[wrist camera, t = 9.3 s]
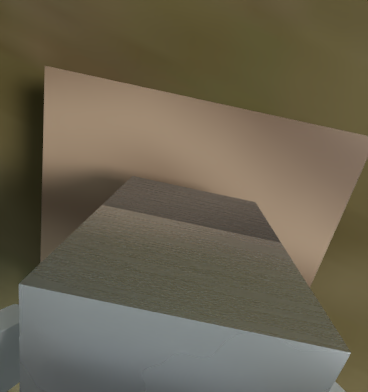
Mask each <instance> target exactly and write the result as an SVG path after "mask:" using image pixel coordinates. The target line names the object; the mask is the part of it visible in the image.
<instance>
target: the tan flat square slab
mask: <svg viewBox="0 0 368 392" xmlns="http://www.w3.org/2000/svg"><path fill="white" fill-rule="evenodd" d="M367 158H368V136H365V135H361V134H356V133H351V132H347V131H342V130H338V129H333V128H328V127H324V126H319V125H315V124H310V123H305V122H301V121H296V120H292V119H287V118H282V117H278V116H273V115H269V114H264V113H260V112H255V111H250V110H246V109H241V108H237V107H232V106H227V105H223V104H218V103H214V102H209V101H204V100H200V99H195V98H191V97H186V96H181V95H177V94H172V93H168V92H163V91H159V90H154V89H149V88H145V87H140V86H136V85H131V84H126V83H122V82H117V81H113V80H108V79H103V78H99V77H94V76H90V75H85V74H80V73H76V72H71V71H67V70H62V69H58V68H53V67H48V66H45V83H44V126H43V169H42V212H41V255H40V263H41V262H42V261H43V260H44V259H46V258H47V257H48V256H49V255H50V254H51V253H52V252H53V251H54V250H55V249H56V248H57V247H58V246H59V245H60V244H61V243H62V242H63V241H64V240H66V239H67V238H68V237H69V236H70V235H71V234H72V233H73V232H74V231H75V230H76V229H77V228H78V227H79V226H80V225H81V224H82V223H83V222H84V221H86V220H87V219H88V218H89V217H90V216H91V215H92V214H93V213H94V212H95V211H96V210H97V209H98V208H99V207H100V206H101V205H102V204H103V203H105V202H106V201H107V200H108V199H109V198H110V197H111V196H112V195H113V194H114V193H115V192H116V191H117V190H118V189H119V188H120V187H121V186H122V185H123V184H125V183H126V182H127V181H128V180H129V179H130V178H131V177H132V176H136V177H140V178H145V179H150V180H154V181H159V182H164V183H168V184H173V185H178V186H183V187H187V188H192V189H197V190H201V191H206V192H211V193H215V194H220V195H225V196H229V197H234V198H239V199H243V200H248V201H253V202H256V204H257V205H258V207H259V209H260V210H261V212H262V213H263V215H264V216H265V218H266V220H267V221H268V223H269V224H270V226H271V228H272V229H273V231H274V232H275V234H276V235H277V237H278V239H279V240H280V242H281V243H282V245H283V246H284V248H285V250H286V251H287V253H288V254H289V256H290V257H291V259H292V261H293V262H294V264H295V265H296V267H297V268H298V270H299V272H300V273H301V275H302V276H303V278H304V279H305V281H306V283H307V284H308V286H309V287H310V286H311V284H312V282H313V279H314V277H315V275H316V273H317V270H318V268H319V266H320V264H321V261H322V259H323V257H324V255H325V252H326V250H327V248H328V246H329V243H330V241H331V239H332V237H333V234H334V232H335V230H336V228H337V225H338V223H339V221H340V219H341V216H342V214H343V212H344V210H345V207H346V205H347V203H348V201H349V198H350V196H351V194H352V192H353V189H354V187H355V185H356V183H357V180H358V178H359V176H360V174H361V171H362V169H363V167H364V165H365V162H366V160H367Z"/></svg>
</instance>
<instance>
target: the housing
mask: <svg viewBox="0 0 368 392" xmlns="http://www.w3.org/2000/svg"><path fill="white" fill-rule="evenodd" d="M350 354H351V352H350V350H349V349H348V347H347V346H346V344H345V342H344V341H343V339H342V338H341V336H340V335H339V333H338V331H337V330H336V328H335V327H334V325H333V324H332V322H331V320H330V319H329V317H328V316H327V314H326V313H325V311H324V309H323V308H322V306H321V305H320V303H319V302H318V300H317V298H316V297H315V295H314V294H313V292H312V290H311V289H310V287H309V286H308V284H307V283H306V281H305V279H304V278H303V276H302V275H301V273H300V272H299V270H298V268H297V267H296V265H295V264H294V262H293V261H292V259H291V257H290V256H289V254H288V253H287V251H286V250H285V248H284V246H283V245H282V243H281V242H280V240H279V239H278V237H277V235H276V234H275V232H274V231H273V229H272V228H271V226H270V224H269V223H268V221H267V220H266V218H265V216H264V215H263V213H262V212H261V210H260V209H259V207H258V205H257V204H256V202H253V201H248V200H243V199H239V198H234V197H229V196H225V195H220V194H215V193H211V192H206V191H201V190H197V189H192V188H187V187H183V186H178V185H173V184H168V183H164V182H159V181H154V180H150V179H145V178H140V177H136V176H132V177H131V178H130V179H129V180H128V181H127V182H126V183H125V184H123V185H122V186H121V187H120V188H119V189H118V190H117V191H116V192H115V193H114V194H113V195H112V196H111V197H110V198H109V199H108V200H107V201H106V202H105V203H103V204H102V205H101V206H100V207H99V208H98V209H97V210H96V211H95V212H94V213H93V214H92V215H91V216H90V217H89V218H88V219H87V220H86V221H84V222H83V223H82V224H81V225H80V226H79V227H78V228H77V229H76V230H75V231H74V232H73V233H72V234H71V235H70V236H69V237H68V238H67V239H66V240H64V241H63V242H62V243H61V244H60V245H59V246H58V247H57V248H56V249H55V250H54V251H53V252H52V253H51V254H50V255H49V256H48V257H47V258H46V259H44V260H43V261H42V262H41V263H40V264H39V265H38V266H37V267H36V268H35V269H34V270H33V271H32V272H31V273H30V274H29V275H28V276H27V277H26V278H24V279H23V280H22V281H21V282H20V283H19V362H20V392H329V391H330V389H331V387H332V386H333V384H334V382H335V380H336V378H337V377H338V375H339V373H340V371H341V370H342V368H343V366H344V364H345V363H346V361H347V359H348V357H349V355H350Z"/></svg>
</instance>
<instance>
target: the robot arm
mask: <svg viewBox="0 0 368 392" xmlns="http://www.w3.org/2000/svg"><path fill="white" fill-rule="evenodd" d="M19 382H20V362H19V305H17V304H13V305H11V306H8V307H6V308H3V309H1V310H0V392H7V391H8V390H10V389H11V388H12V387H13V386H15V385H16V384H17V383H19ZM329 392H346V391H344V390H343V389H342V388H341V387H340V386H339V385H338V384H337V383H336V382H334V384H333V386H332V387H331V389H330V391H329Z"/></svg>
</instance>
